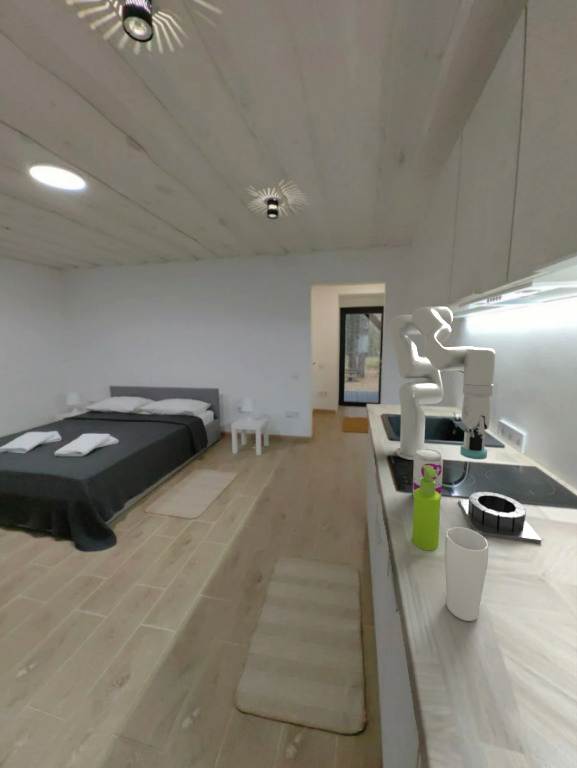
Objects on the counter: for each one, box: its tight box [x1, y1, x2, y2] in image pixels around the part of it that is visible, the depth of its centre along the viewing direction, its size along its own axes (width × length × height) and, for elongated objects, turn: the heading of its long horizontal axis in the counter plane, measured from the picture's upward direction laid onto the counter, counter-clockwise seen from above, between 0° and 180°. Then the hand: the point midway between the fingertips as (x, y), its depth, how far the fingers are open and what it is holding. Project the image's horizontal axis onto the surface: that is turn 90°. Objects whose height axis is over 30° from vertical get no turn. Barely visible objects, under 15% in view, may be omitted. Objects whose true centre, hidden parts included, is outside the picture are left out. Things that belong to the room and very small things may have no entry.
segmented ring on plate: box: [458, 491, 542, 544], centre depth 82 cm, size 16×14×5 cm
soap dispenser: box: [412, 465, 442, 551], centre depth 73 cm, size 6×7×20 cm
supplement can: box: [412, 448, 444, 501], centre depth 94 cm, size 8×8×15 cm
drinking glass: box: [444, 526, 489, 622], centre depth 55 cm, size 7×7×15 cm
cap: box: [459, 431, 488, 460], centre depth 92 cm, size 7×7×7 cm
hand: (473, 448), depth 92 cm, fingers closed on cap
